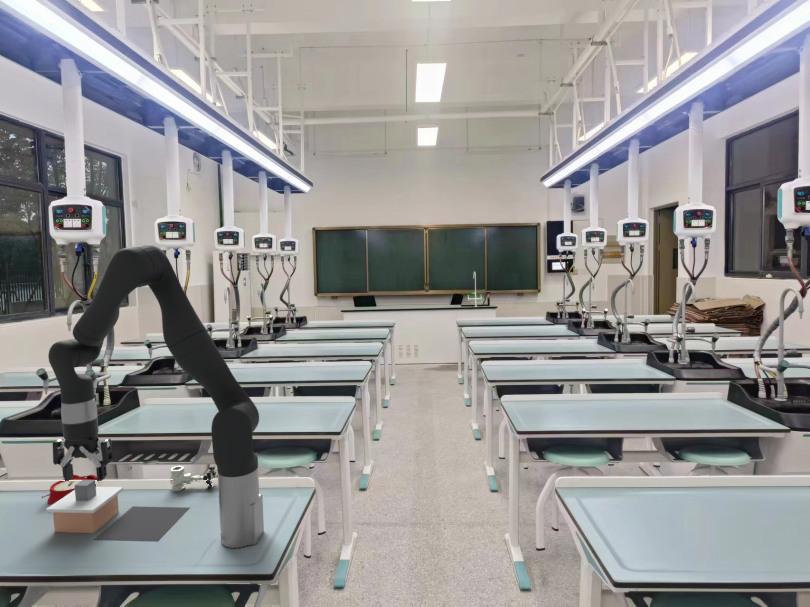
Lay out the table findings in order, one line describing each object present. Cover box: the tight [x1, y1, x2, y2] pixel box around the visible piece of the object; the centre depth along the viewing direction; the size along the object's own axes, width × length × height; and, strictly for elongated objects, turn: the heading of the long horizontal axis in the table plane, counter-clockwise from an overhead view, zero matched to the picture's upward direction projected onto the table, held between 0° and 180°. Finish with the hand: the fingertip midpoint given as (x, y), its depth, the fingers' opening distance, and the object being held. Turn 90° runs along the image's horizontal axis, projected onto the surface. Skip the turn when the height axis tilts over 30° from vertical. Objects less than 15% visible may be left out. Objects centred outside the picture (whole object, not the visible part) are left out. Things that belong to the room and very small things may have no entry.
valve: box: [169, 465, 217, 492], centre depth 149 cm, size 7×7×12 cm
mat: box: [93, 505, 191, 542], centre depth 130 cm, size 16×16×1 cm
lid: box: [45, 480, 124, 513], centre depth 130 cm, size 12×12×5 cm
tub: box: [52, 494, 120, 534], centre depth 131 cm, size 10×10×6 cm
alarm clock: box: [41, 474, 97, 506], centre depth 147 cm, size 10×6×15 cm
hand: (85, 479), depth 130 cm, fingers open, 8 cm apart
